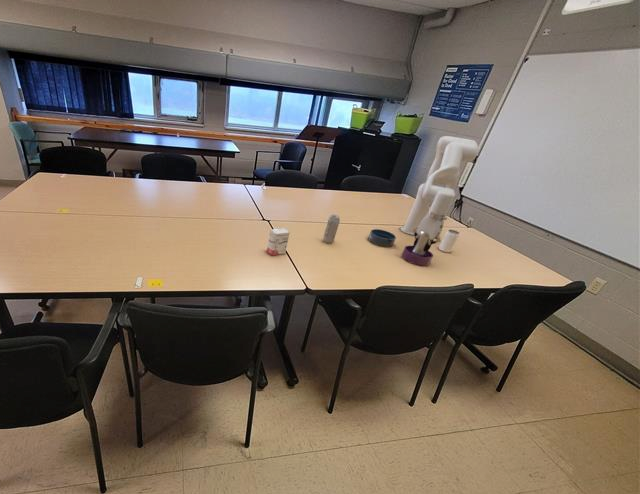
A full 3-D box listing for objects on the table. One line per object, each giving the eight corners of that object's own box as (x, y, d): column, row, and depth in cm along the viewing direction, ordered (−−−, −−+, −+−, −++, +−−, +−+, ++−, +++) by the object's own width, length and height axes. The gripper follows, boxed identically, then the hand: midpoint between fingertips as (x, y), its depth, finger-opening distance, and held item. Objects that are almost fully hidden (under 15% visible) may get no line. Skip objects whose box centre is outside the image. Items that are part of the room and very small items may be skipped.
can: (448, 249, 190) (458, 230, 183) (451, 253, 184) (461, 234, 178) (437, 246, 191) (446, 228, 185) (439, 250, 186) (448, 232, 179)
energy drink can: (333, 244, 176) (341, 219, 167) (322, 242, 176) (329, 217, 168) (332, 240, 181) (340, 215, 173) (322, 238, 181) (329, 213, 173)
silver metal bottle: (423, 262, 168) (440, 227, 157) (410, 260, 169) (426, 225, 158) (420, 257, 173) (436, 223, 163) (407, 254, 174) (423, 220, 163)
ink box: (271, 255, 155) (275, 233, 149) (266, 251, 159) (270, 229, 152) (285, 253, 159) (290, 232, 153) (280, 249, 163) (284, 228, 156)
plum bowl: (411, 251, 180) (414, 244, 177) (434, 263, 170) (438, 255, 167) (396, 255, 173) (399, 247, 170) (419, 268, 163) (423, 259, 160)
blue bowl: (378, 235, 195) (380, 228, 193) (397, 245, 186) (401, 237, 183) (363, 238, 188) (365, 230, 186) (382, 248, 179) (385, 240, 176)
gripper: (456, 221, 154) (439, 254, 164) (424, 209, 166) (410, 240, 175) (448, 223, 150) (431, 256, 160) (415, 210, 162) (402, 242, 172)
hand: (420, 248), depth 168 cm, fingers closed on silver metal bottle, 5 cm apart
